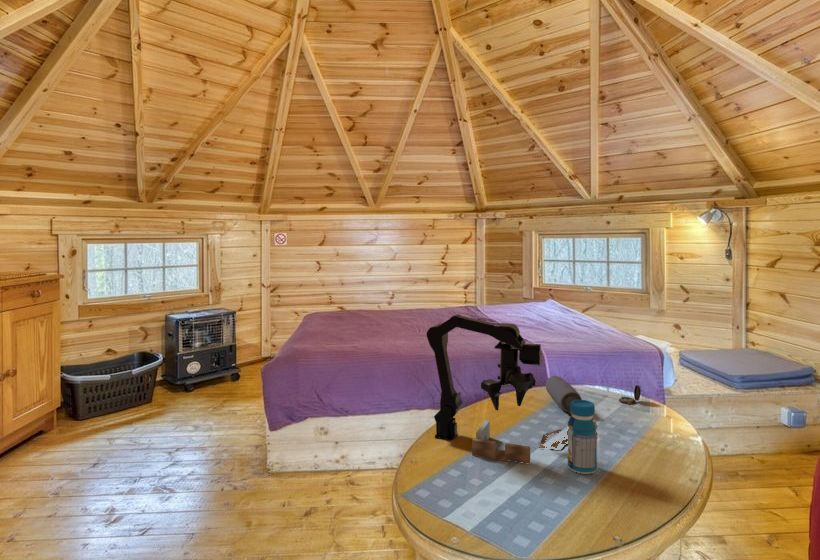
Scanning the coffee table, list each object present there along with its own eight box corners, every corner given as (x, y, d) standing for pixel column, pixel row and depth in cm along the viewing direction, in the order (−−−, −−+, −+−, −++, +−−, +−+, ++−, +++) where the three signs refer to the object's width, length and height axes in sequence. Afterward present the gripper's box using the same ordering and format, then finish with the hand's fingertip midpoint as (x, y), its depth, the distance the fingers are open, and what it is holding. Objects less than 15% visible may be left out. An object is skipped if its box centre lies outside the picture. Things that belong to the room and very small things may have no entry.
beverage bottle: (583, 477, 137) (583, 409, 135) (561, 466, 144) (561, 401, 143) (603, 470, 141) (604, 404, 139) (581, 459, 148) (581, 396, 147)
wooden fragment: (554, 455, 152) (554, 452, 152) (525, 444, 161) (525, 441, 161) (595, 433, 169) (595, 430, 169) (567, 424, 177) (567, 421, 177)
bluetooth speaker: (584, 415, 185) (584, 390, 184) (559, 416, 185) (559, 391, 184) (565, 396, 208) (565, 374, 207) (544, 397, 208) (544, 374, 207)
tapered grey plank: (476, 450, 157) (476, 432, 156) (485, 436, 168) (485, 419, 167) (480, 451, 156) (480, 433, 156) (489, 437, 167) (489, 420, 166)
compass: (617, 399, 203) (617, 382, 202) (637, 400, 201) (637, 383, 201) (621, 405, 195) (621, 388, 194) (642, 406, 193) (642, 389, 193)
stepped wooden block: (472, 455, 153) (472, 440, 153) (473, 453, 155) (473, 438, 154) (529, 464, 146) (529, 448, 146) (530, 462, 147) (530, 446, 147)
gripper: (501, 371, 147) (500, 421, 149) (547, 364, 156) (546, 411, 157) (480, 363, 157) (479, 409, 159) (525, 357, 166) (523, 401, 167)
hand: (507, 408), depth 160 cm, fingers open, 9 cm apart
